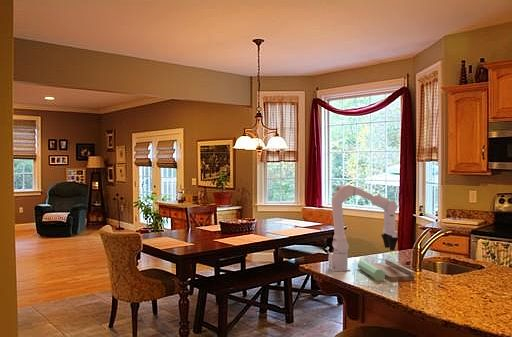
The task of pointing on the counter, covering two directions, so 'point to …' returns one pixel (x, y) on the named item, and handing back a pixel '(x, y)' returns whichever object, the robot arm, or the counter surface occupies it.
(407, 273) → the shelf
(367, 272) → the container
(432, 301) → the counter surface
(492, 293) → the counter surface
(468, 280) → the counter surface
